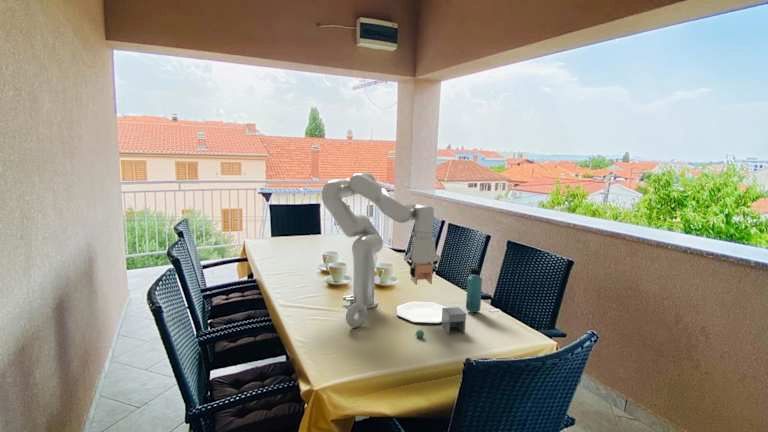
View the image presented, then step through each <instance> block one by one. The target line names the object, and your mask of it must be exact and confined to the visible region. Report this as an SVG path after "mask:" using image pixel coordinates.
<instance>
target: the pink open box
mask: <svg viewBox="0 0 768 432" xmlns="http://www.w3.org/2000/svg"><path fill="white" fill-rule="evenodd" d="M414 268H415V277H412V276H411V275H410V280H411V282H413V284H415V286H416V285H418V281H419V280H421V281H422V280H426V281H427V282H428V283H429V284H430V285H432V284H433V274H432V270H433V271H434V268H433V265H432V264H430V263H429V262H425V263H416V264H415V266H414Z"/></svg>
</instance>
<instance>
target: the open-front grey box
mask: <svg viewBox="0 0 768 432" xmlns="http://www.w3.org/2000/svg"><path fill="white" fill-rule="evenodd" d="M466 319H467V313H466V312H465V311H464V310H463V309H462V308H461V307H459V306H456V307H453V306H451V307H447V308H442V322H441V329H442V330H443V331H444V332H445V333H446V335H448V336H450V331H451V328H458V330H459V331H460V332H461V333H462V334H463V335H464V334H465V333H466V324H467V323H466Z"/></svg>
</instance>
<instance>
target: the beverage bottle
mask: <svg viewBox="0 0 768 432" xmlns="http://www.w3.org/2000/svg"><path fill="white" fill-rule="evenodd" d="M470 274H471V275H469V276H468V277H467V284H466V300H465V309H466V311H469V312H473V313H474V312H475V313H476V312H480V310H481V304H482V284H483V278H482V277H481V276H480V275H481V269H480V268H478V267H471V269H470Z"/></svg>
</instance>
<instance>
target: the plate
mask: <svg viewBox="0 0 768 432" xmlns="http://www.w3.org/2000/svg"><path fill="white" fill-rule="evenodd" d="M442 308H448V306H444V305H441V304H439V303H436V302H432V301H409V302H407V303H404V304H403V303H402V304H399V305H397V306H396V316H397V317H399V318H400V319H401V318H402V319H404V320H406V321H409V322H411V323H414V324H429V325H431V324H433V325H437V324H442Z"/></svg>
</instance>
